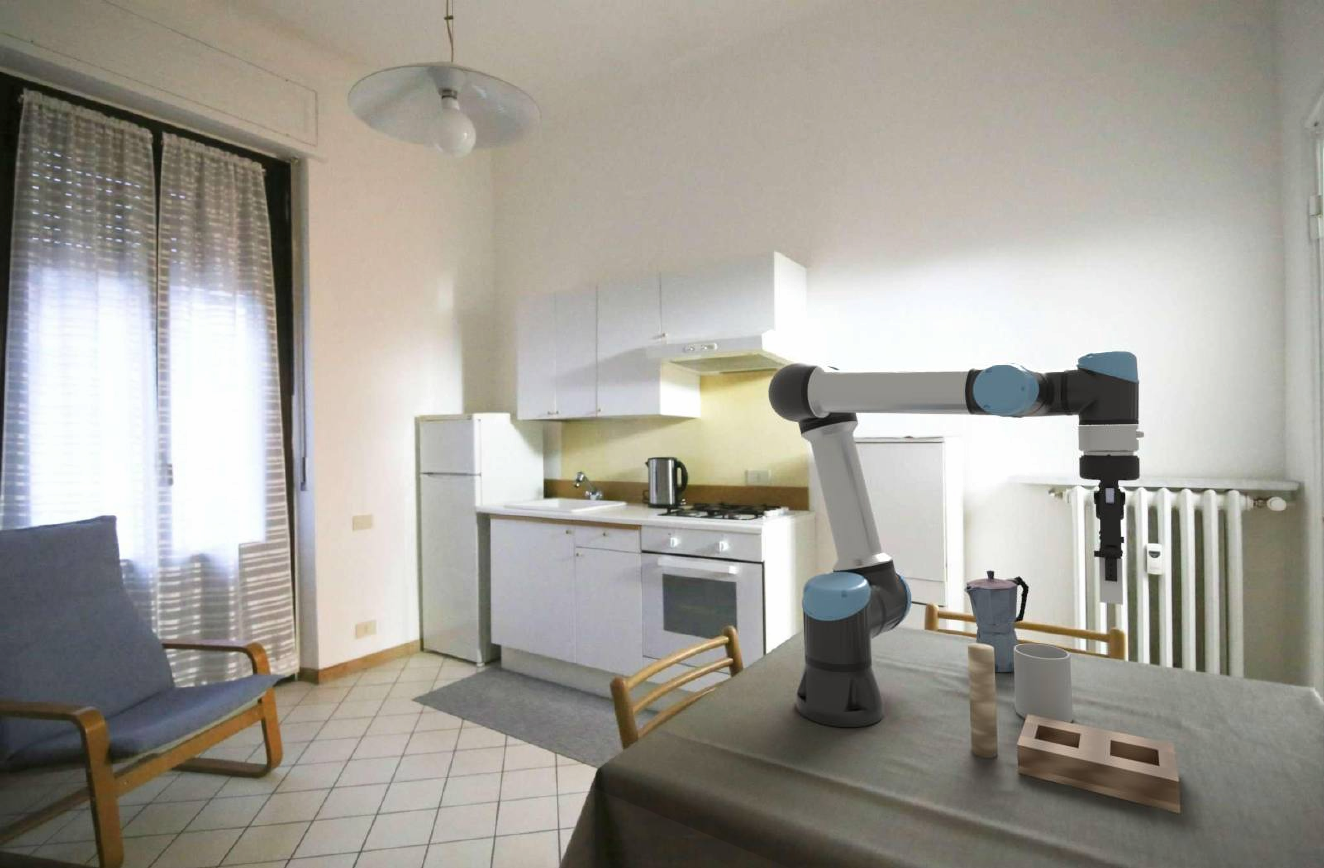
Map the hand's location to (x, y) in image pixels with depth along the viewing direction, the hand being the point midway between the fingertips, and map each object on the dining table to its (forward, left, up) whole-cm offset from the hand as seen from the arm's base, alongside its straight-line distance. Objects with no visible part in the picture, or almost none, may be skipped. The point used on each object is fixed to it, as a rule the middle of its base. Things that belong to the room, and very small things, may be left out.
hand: (1110, 593), depth 96 cm
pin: (-16, -11, -24) cm, 31 cm away
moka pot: (-20, +31, -24) cm, 44 cm away
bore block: (-2, -9, -24) cm, 26 cm away
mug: (-11, +10, -24) cm, 28 cm away
